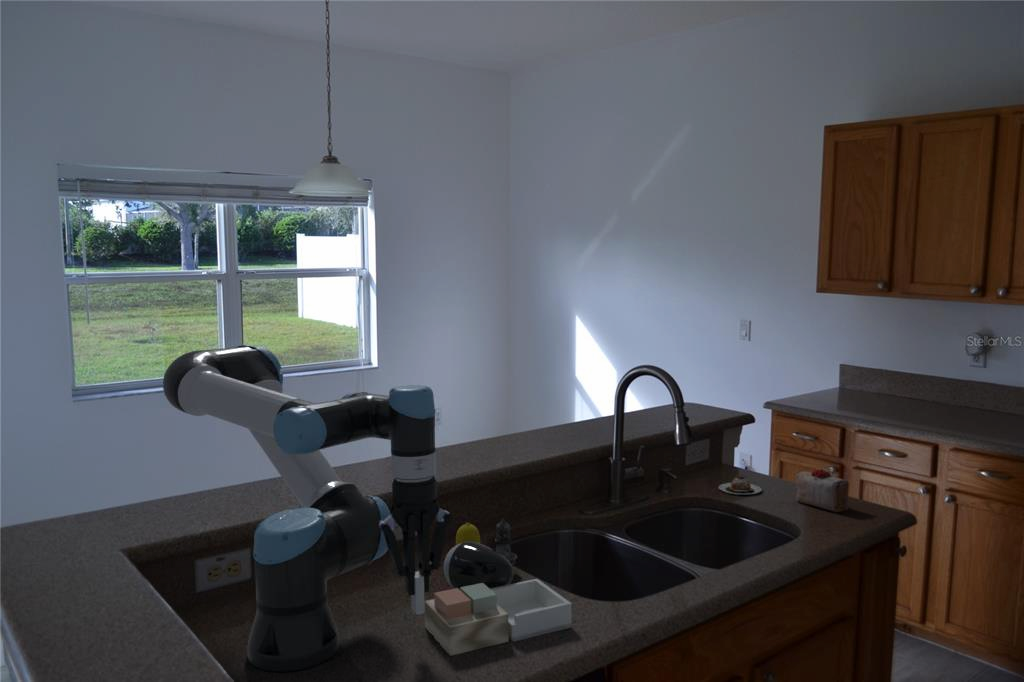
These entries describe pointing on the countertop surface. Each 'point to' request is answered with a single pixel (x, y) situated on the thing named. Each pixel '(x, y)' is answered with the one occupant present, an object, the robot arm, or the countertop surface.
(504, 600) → the grey bin
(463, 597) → the terracotta tile
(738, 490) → the pastry
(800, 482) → the food item
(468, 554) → the glossy black oval shape
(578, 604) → the countertop surface
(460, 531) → the lemon
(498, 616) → the cream tray box
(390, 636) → the countertop surface
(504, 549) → the dark grey figurine
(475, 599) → the sage tile
